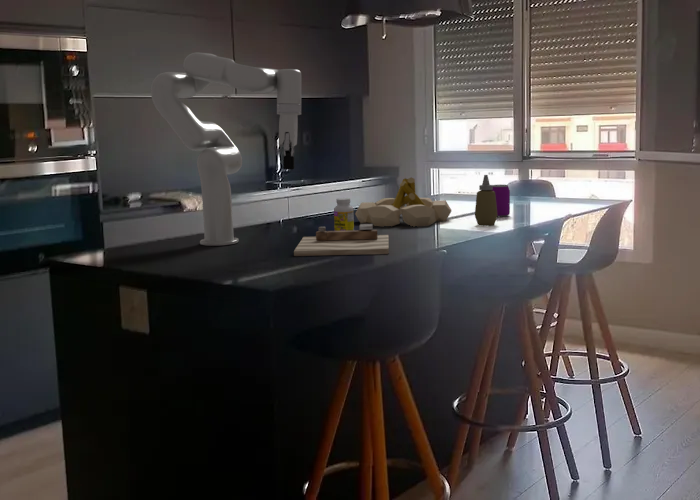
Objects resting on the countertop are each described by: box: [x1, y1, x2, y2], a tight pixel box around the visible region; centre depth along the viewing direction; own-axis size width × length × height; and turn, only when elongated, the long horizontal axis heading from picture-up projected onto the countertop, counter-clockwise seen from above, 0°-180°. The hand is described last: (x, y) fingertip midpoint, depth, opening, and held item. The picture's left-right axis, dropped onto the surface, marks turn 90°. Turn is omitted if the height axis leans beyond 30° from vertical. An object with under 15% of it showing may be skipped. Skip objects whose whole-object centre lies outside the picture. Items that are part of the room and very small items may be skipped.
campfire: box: [354, 176, 452, 228], centre depth 314 cm, size 35×34×17 cm
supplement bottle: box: [333, 197, 355, 231], centre depth 280 cm, size 7×7×13 cm
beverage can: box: [492, 184, 511, 218], centre depth 320 cm, size 8×8×12 cm
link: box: [315, 229, 378, 241], centre depth 263 cm, size 20×4×2 cm, turn 89°
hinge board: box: [293, 223, 390, 257], centre depth 258 cm, size 28×28×6 cm
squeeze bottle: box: [474, 174, 498, 227], centre depth 296 cm, size 8×8×18 cm
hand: (288, 168), depth 260 cm, fingers closed
